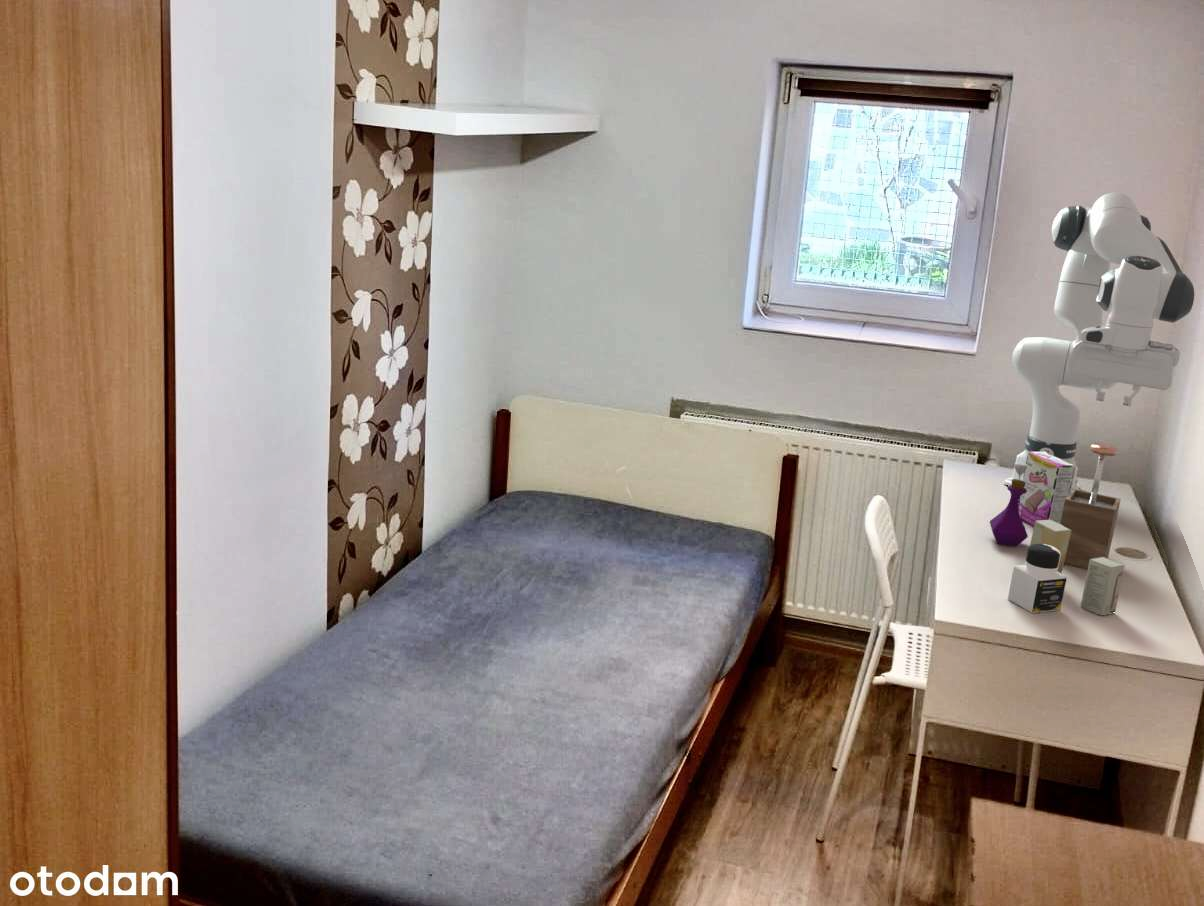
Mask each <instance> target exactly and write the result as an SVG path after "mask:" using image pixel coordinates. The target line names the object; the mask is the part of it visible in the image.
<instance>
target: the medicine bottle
mask: <svg viewBox="0 0 1204 906" xmlns="http://www.w3.org/2000/svg"><path fill="white" fill-rule="evenodd" d="M1025 557H1026V558H1025V561H1024V564H1021V565H1014V566H1013V570H1012V574H1011V581H1010V584H1009V589H1008V590H1009V591H1008V596H1007V599H1008V601H1010V602H1011V603H1013V604H1016V605H1017V606H1019V607H1020V608H1023V610H1026V611H1027V612H1029V613H1031V614H1037V613H1038V612H1040V613H1047V611H1049V612H1056V611H1057V610H1059V611H1061V607H1062V602H1063V598H1064V593H1065V588H1066V585H1067V579H1068V577H1067V576H1066V575H1065V574H1063V573H1062V574H1061V573H1059V572H1057V571H1058V566H1059V561H1060V557H1061V553H1060V551H1059V550H1058V549H1056V548H1055V547H1053V546H1050V545H1047V544H1032V545H1030V544H1029V546H1028V547H1027V552H1026V556H1025ZM1038 614H1039V613H1038Z"/></svg>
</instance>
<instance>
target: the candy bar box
mask: <svg viewBox="0 0 1204 906" xmlns="http://www.w3.org/2000/svg"><path fill="white" fill-rule="evenodd" d="M1026 466H1027V469H1026V471H1025V472H1024V477H1023V481H1024V482H1025V483H1026V484H1025V487H1024V488H1026V490H1027V492H1026V493H1024V494H1022V495H1021V496H1020V499H1019V503H1018V510H1019V514H1020V517H1021V520H1022V522H1023V523H1026V524H1028V525H1030V526H1031V525H1032V527H1033V528H1034V525H1035V521H1039V520H1052V521H1054V522H1056V523H1058V524H1060V522H1061V517H1062V513H1063V508H1064V503H1065V499H1066V497H1067V496H1068V494H1069V493H1070V489H1071V484H1072V479H1073V474H1074V469H1075V466H1074V465H1072V464H1070V463H1068V462H1066V461H1063V460H1061V459H1059V458H1057V457H1055V456H1053V455H1051V454H1049V453H1046V452H1044V451H1040V452H1039V451H1035V452H1033V451H1031V452H1028V456H1027V461H1026Z"/></svg>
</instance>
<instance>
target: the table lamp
mask: <svg viewBox="0 0 1204 906" xmlns="http://www.w3.org/2000/svg"><path fill="white" fill-rule="evenodd" d="M1117 449H1118V448H1117V447H1115V446H1114V445H1110V444H1105V443H1098V442H1097V443H1091V445H1090V452H1092V453H1094V454H1096V455H1098V460H1097V465H1096V469H1095V474H1094V478H1093V483H1092V488H1091V497H1090V499H1087V498H1082V497H1077V496H1075V498H1074V501H1079V502H1084V503H1088V504H1093V505H1098V506H1102V507H1107V508H1112V507H1113V505H1114V504H1110V503H1106V502H1101V501H1096V498H1097V494H1099V488H1100V484H1101V478H1102V474H1103V473H1102V472H1103V469H1104V464H1105V458H1106V457H1112V456H1113V457H1114V456H1116V454H1117Z"/></svg>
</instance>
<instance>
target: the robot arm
mask: <svg viewBox="0 0 1204 906" xmlns="http://www.w3.org/2000/svg"><path fill="white" fill-rule="evenodd" d="M1139 211H1140V210H1138V207H1137V206H1136V204H1135V202H1134V200H1133V199H1132V198H1131V197H1130V196H1129V195H1127V194H1125V193H1123V192H1119V191H1118V192H1117V191H1115V192H1109V193H1108V192H1107V193H1106V194H1103V195H1101V196H1100V197H1099V198H1098V199H1097V200H1096V201H1095V202H1094V203H1093V206H1092V207H1091V206H1090V207H1088V206H1087V207H1086V206H1085V207H1084V206H1082V205H1072V206H1066V207H1064V208H1062V209H1061V210H1059V211H1058V213H1057V215H1056V216H1055V218H1054V220H1053V223H1052V226H1051V237H1052V243H1053V244H1054V246H1055V247H1056V248H1058V249H1060V250H1063V251H1066V252H1067V254H1066V257H1065V259H1064V263H1063V266H1062V268H1061V269H1062V270H1061V273H1060V276H1059V277H1060V278H1059V282H1058V287H1057V292H1056V297H1055V301H1054V302H1055V303H1054V306H1053V313H1054V315H1055V317H1056V319H1058V321H1059V322H1061V323H1062V324H1064V326H1066V327H1067V328H1069V329H1071V330H1072V331H1073V332H1074V334H1075V339H1074V340H1064V339H1059V338H1053V337H1045V336H1041V337H1040V336H1039V337H1038V336H1037V337H1036V336H1035V337H1024V338H1022V339H1021V340H1020V341H1019V342H1018V343H1017V345H1016V346H1015V348H1014V349H1013V352H1012V356H1011V357H1012V359H1011V361H1012V366H1013V369H1014V371H1015V373H1016V374H1017V375H1018V376H1019V377H1020V378H1021V379H1022V381H1023V382H1024V383H1025V384H1026V386H1027V388H1028V390H1029V392H1030V395H1031V399H1032V414H1031V415H1032V418H1031V423H1030V429H1029V433H1028V434H1027V436H1026V439H1025V445H1024V451H1021V452H1020V453H1019V454H1017V455H1016V458H1015V463H1014V464H1022V465H1026V461H1027V456H1028V452H1031V451H1033V452H1035V451H1039V452H1040V451H1044V452H1046V453H1049V454H1051V455H1053V456H1055V457H1057V458H1059V459H1061V460H1063V461H1066V462H1068V463H1070V464H1072V465H1074V466H1075V469H1074V474H1073V479H1072V484H1071V489H1070V491H1071V490H1072V489H1076V490H1080V487H1079V482H1078V479H1077V474H1078V469H1079V467H1078V466H1077V463H1076V462H1075V459H1074V457H1075V455H1076V451H1077V435H1078V430H1079V425H1080V422H1081V421H1080V420H1081V411H1080V410H1079V407H1078V406H1077V405H1076V404H1075V403H1074V402H1072V401H1071V400H1070V399H1068V398H1067V397H1065V396H1064V395H1062V393H1061V392H1060V389H1059V387H1060V386H1066V387H1071V388H1072V387H1073V388H1078V389H1084V390H1094V391H1096V397H1095V401H1099V402H1105V401H1104V400H1105V398H1106V397H1105V395H1106V391H1102V390H1110V389H1112V388H1113V387H1114V386H1117V384H1118V383H1120V384H1125V385H1126V384H1127V385H1132V391H1133V392H1131V394H1130V395H1125V396H1124V397H1123V402H1122V405H1123V406H1127V407H1131V406H1132V404H1133V403H1132V402H1133V398H1134V397H1135V396H1136V395H1137V394H1138V393H1139V392H1140V391H1141V389H1142V387H1143V388H1144V387H1145V388H1149V389H1156V390H1161V391H1167V390H1168V389H1170V388H1171V387H1172V385H1173V377H1174V368H1175V366H1177V364H1178V362H1179V359H1180V353H1181V352H1180V350H1179V349H1178V348H1177V347H1175V346H1174V345H1173V344H1171V343H1162V342H1159V341H1152V340H1151V337H1152V333H1153V328H1154V320H1159V321H1162V322H1168V323H1176V322H1178V321H1179V320H1181V319H1183V318H1185V317H1186V316H1187V315H1189V313H1190V312H1191V311H1192V310H1193V309H1192V308H1193V306H1194V301H1195V288H1194V284H1193V283H1192V281H1191V279H1190V278H1189V277H1188V275H1186V274H1185V273H1184V272H1183V271H1182V269H1181V267H1180V266H1179V263H1178V262H1177V260H1176V259H1175V257H1174V255H1173V253H1172V251H1171V250H1170V248H1169V247H1168V244H1166V242H1165V241H1164V240H1163V239H1161V238H1160V237H1159V236H1157V235H1156V234H1154V232H1152V225H1151V222H1150V220H1149V219H1148V217H1146V216H1144V215H1142V214H1140V212H1139ZM1111 263H1112V264H1115V265H1116V264H1117V265H1120V266H1119V267H1118V268H1112V269H1110V267H1111ZM1104 312H1107V313H1109V314H1108V316H1107V319H1106V323H1105V325H1104V324H1103V313H1104ZM1023 477H1024V473H1023V474H1022V475H1021V476H1020V480H1022V481H1023ZM1013 479H1019V475H1018V473H1017V472H1016V470H1015V467H1013V472H1012V476H1011V477H1009V478H1006V479H1005V480H1004V481H1003V485H1004V484H1006V485H1008V486H1010V485H1012V480H1013ZM1006 485H1005V486H1006ZM1008 486H1007V487H1008Z"/></svg>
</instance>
